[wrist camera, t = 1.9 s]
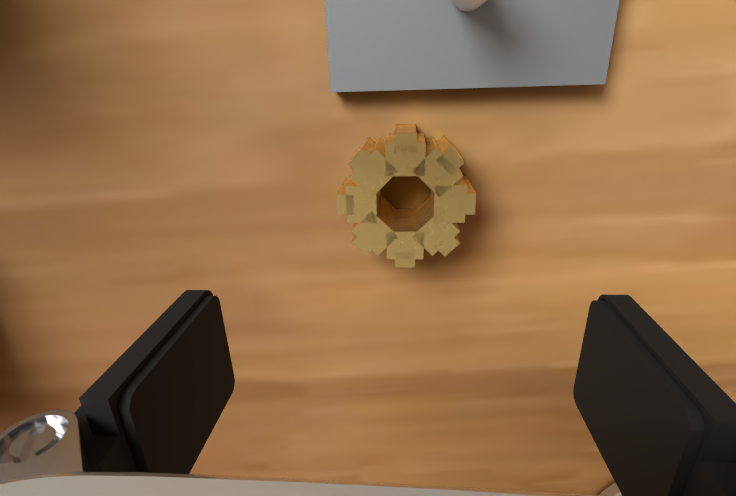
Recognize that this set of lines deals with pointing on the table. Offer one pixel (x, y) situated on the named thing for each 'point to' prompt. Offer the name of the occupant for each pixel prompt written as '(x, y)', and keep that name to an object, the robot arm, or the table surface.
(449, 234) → the brass gear
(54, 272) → the table surface
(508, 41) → the gear board
